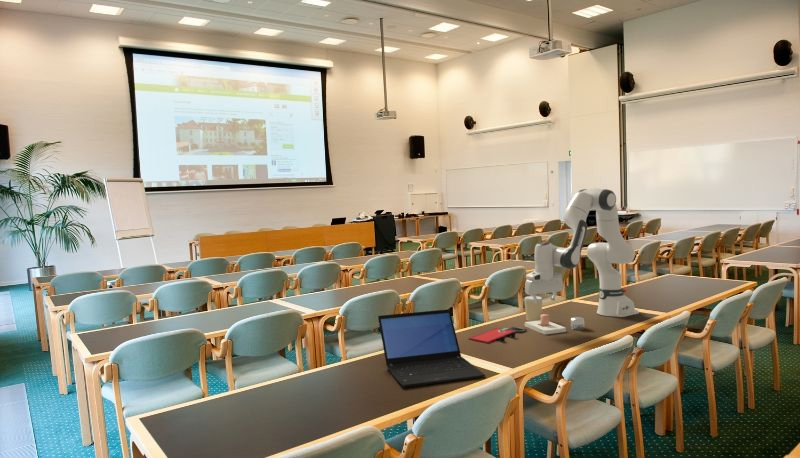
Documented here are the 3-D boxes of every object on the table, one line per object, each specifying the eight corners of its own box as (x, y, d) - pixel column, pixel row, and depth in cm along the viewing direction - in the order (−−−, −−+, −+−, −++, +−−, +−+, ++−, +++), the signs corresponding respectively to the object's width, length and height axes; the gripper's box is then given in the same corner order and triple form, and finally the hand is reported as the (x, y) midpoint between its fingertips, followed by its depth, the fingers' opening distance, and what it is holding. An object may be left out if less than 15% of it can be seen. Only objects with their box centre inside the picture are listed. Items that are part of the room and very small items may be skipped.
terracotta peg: (546, 327, 276) (545, 313, 276) (550, 329, 273) (550, 315, 272) (539, 328, 275) (539, 314, 275) (543, 330, 271) (543, 316, 271)
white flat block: (544, 323, 284) (544, 319, 284) (565, 331, 267) (565, 327, 267) (524, 325, 280) (524, 322, 280) (544, 334, 263) (544, 330, 263)
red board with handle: (530, 331, 270) (505, 327, 281) (530, 326, 270) (505, 321, 281) (494, 346, 249) (468, 341, 260) (494, 340, 249) (468, 335, 260)
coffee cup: (541, 317, 297) (540, 295, 296) (544, 321, 287) (543, 299, 286) (523, 317, 298) (523, 295, 297) (526, 322, 288) (525, 299, 287)
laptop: (402, 390, 200) (400, 338, 198) (378, 359, 236) (377, 315, 234) (486, 378, 208) (485, 329, 207) (451, 350, 244) (450, 308, 243)
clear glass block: (578, 326, 277) (578, 316, 277) (587, 329, 271) (586, 319, 270) (568, 327, 275) (568, 317, 275) (576, 330, 269) (576, 320, 268)
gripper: (558, 271, 278) (558, 298, 279) (522, 275, 272) (523, 302, 273) (565, 273, 272) (566, 300, 273) (529, 277, 266) (530, 305, 267)
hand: (544, 301), depth 273 cm, fingers open, 8 cm apart
